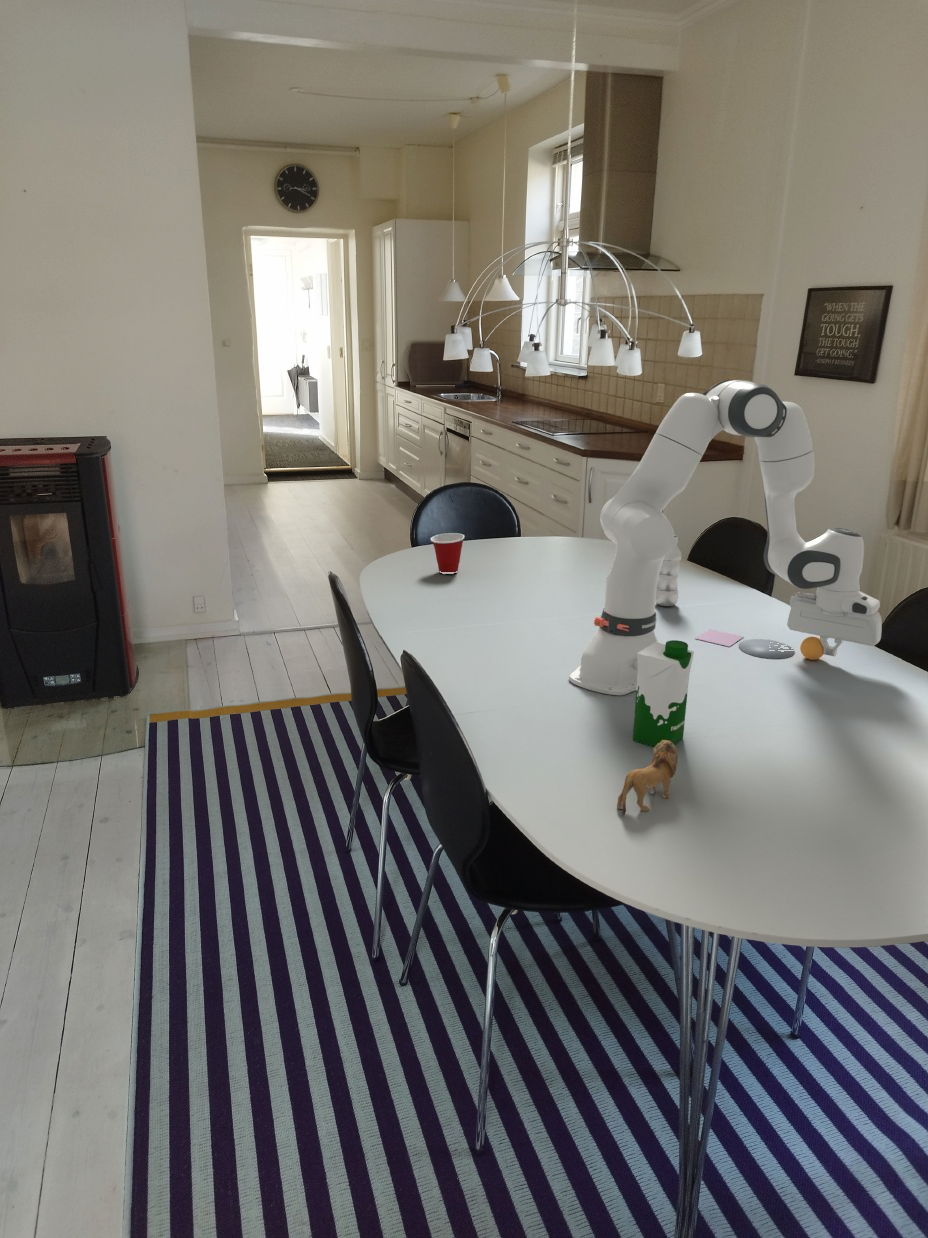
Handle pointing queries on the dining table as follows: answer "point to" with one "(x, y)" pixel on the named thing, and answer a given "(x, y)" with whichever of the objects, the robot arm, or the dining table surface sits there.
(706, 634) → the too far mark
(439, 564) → the plastic cup
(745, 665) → the dining table surface
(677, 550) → the plastic bottle
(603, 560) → the dining table surface
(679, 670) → the milk carton
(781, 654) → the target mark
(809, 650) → the ball
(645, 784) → the lion figurine
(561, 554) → the dining table surface
